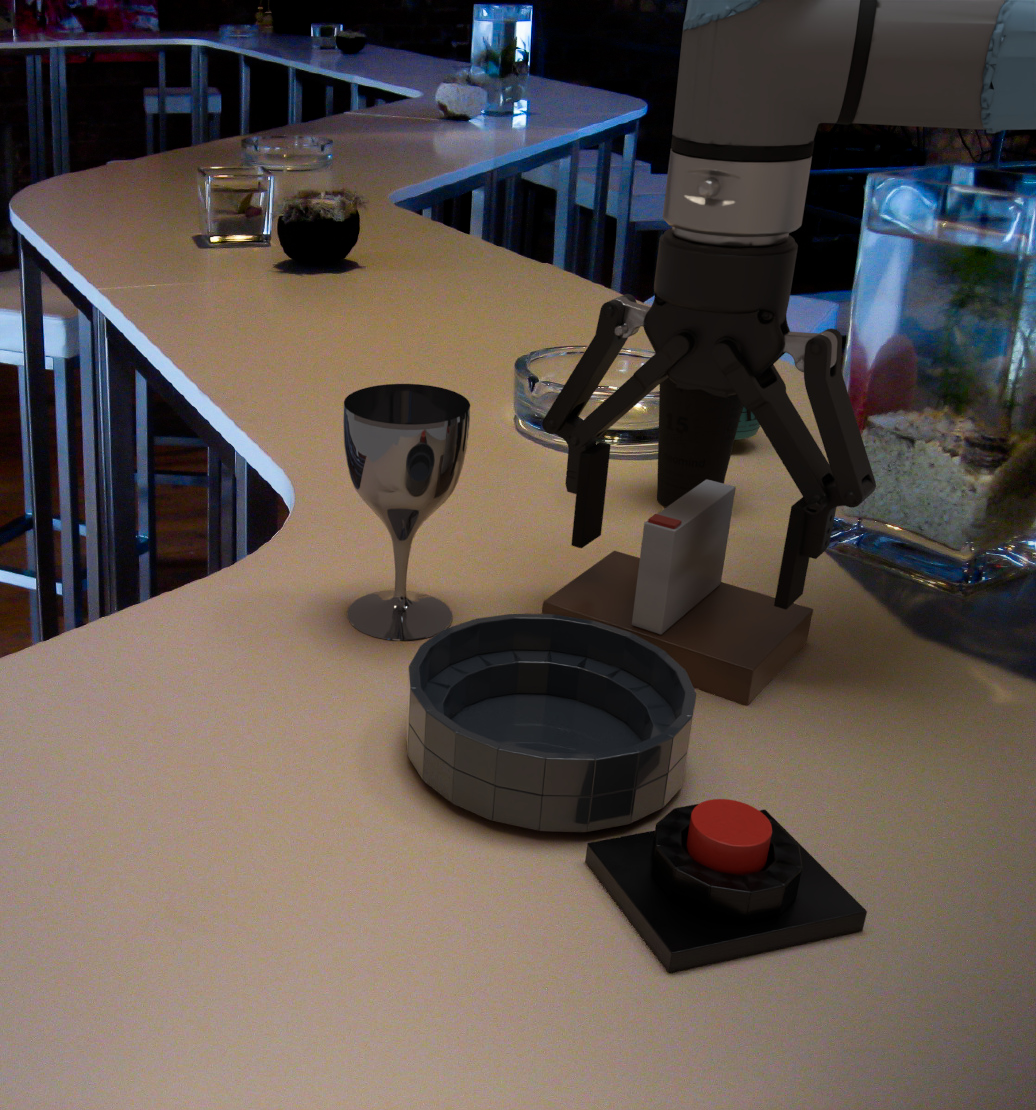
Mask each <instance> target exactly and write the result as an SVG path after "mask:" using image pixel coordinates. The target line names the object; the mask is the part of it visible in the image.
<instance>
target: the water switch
mask: <svg viewBox="0 0 1036 1110" xmlns="http://www.w3.org/2000/svg"><path fill="white" fill-rule="evenodd" d="M698 804H699V803H695V804H689V805H685V806H679V807H674V808H673V809H672V810H670V811H669V812H668V813H667V814H666V815H665V816H664V817H662V818H661V819H660V820H659V821H657V822H656V823H655V828H654V830H649V831H648V830H647V831H644V832H638V833H632V834H629V835H623V836H618V837H613V838H612V837H611V838H608V839H602V840H596V841H592V842H587V843H586V850H585V851H586V852H585V861H584V863H585V864H586V866H587V867H588V868H589V870H590V871H591V872H592V873H593V875H594V876H595V878H596V879H597V880H598V881H599V883H600V884H601V885H602V887H603V888H604V889H605V891H606V892H607V893H608V895H609V896H610V897H611V899H612V900H613V902H614V903H615V904H616V906H617V907H618V908H619V909H620V911H621V913H623V916H625V917H626V919H627V921H629V923H630V925H631V926H632V927H633V928H634V930H635V931H636V932H637V934H638V935H639V937H640V938H641V939H642V940H643V941H644V943H645V944H646V945H647V947H648V948H649V949H650V951H651V952H652V953H653V955H654V956H655V958H656V959H657V960H658V961H659V963H660V964H661V966H662V967H663V968H664V969H665V971H666V973H668V974H669V975H670V974H675V973H679V972H684V971H688V970H692V969H698V968H702V967H705V966H710V965H715V964H719V963H724V962H728V961H733V960H739V959H743V958H748V957H752V956H756V955H761V954H765V953H769V952H770V953H771V952H773V951H779V950H783V949H788V948H792V947H796V946H797V947H798V946H802V945H806V944H811V943H814V942H815V943H816V942H820V941H823V940H828V939H834V938H838V937H842V936H847V935H851V934H856V933H860V932H863V931H864V926H865V923H866V918H867V914H868V910H867V909H865V907H864V906H863V905H861V903H859V901H858V900H856V898H855V897H853V896H852V895H851V893H850V892H848V890H847V889H846V888H845V887H843V885H842V884H841V883H840V882H839V881H837V880H836V878H835V877H833V875H831V874H830V873H829V871H827V869H825V868H824V866H822V864H820V863H819V862H818V861H817V860H816V859H815V858H814V856H813V855H812V854H811V853H810V852H808V850H806V848H804V847H803V846H802V844H801V843H800V842H798V840H796V838H795V837H793V836H792V835H791V834H790V832H789V831H788V830H786V829H785V827H783V825H782V824H780V823H779V821H777V820H776V818H774V817H773V816H772V814H770V813H769V812H768V811H767V810H766V809H760V810H759V809H758V810H759V811H760V812H762V813H763V814H764V815H765V816H766V817H767V818H768V820H769V821H770V823H771V826H772V835H771V841H770V846H769V851H768V856H767V861H766V864H765V866H764V867H763V869H762V870H760V871H759V872H755V873H750V874H745V875H737V874H730V873H724V872H717V871H715V870H713V869H711V868H709V867H707V866H705V865H703V864H701V863H698V862H696V861H694V860H693V859H692V857H691V856H690V854H689V853H688V850H687V838H688V832H689V825H690V819H691V813H692V811H693V809H694V808H695V807H696V806H697V805H698Z"/></svg>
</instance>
